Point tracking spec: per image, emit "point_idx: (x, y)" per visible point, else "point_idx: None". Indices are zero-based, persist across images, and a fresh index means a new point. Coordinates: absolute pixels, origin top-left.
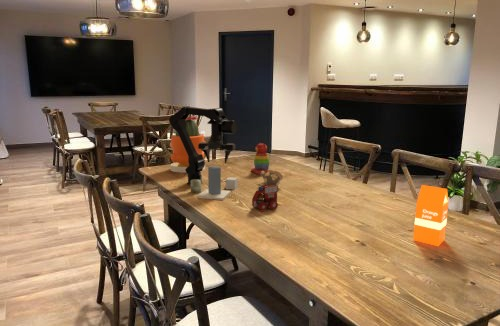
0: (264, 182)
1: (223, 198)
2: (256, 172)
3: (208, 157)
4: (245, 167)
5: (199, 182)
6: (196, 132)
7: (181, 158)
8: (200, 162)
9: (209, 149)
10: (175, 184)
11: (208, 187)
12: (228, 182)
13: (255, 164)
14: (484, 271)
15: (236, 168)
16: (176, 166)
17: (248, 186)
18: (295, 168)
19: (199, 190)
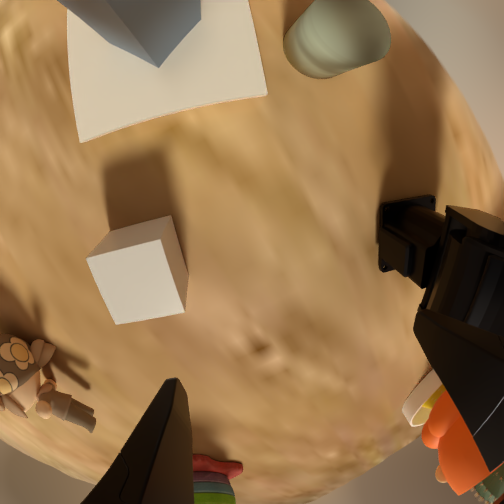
0: (34, 357)
1: None
2: (202, 460)
3: (458, 348)
4: (282, 473)
5: (308, 14)
6: (489, 485)
7: None
8: (472, 300)
9: (485, 458)
10: (465, 170)
11: (199, 2)
12: (141, 235)
13: (217, 487)
14: None
15: (305, 460)
16: None
17: (90, 319)
18: None
19: (288, 33)
